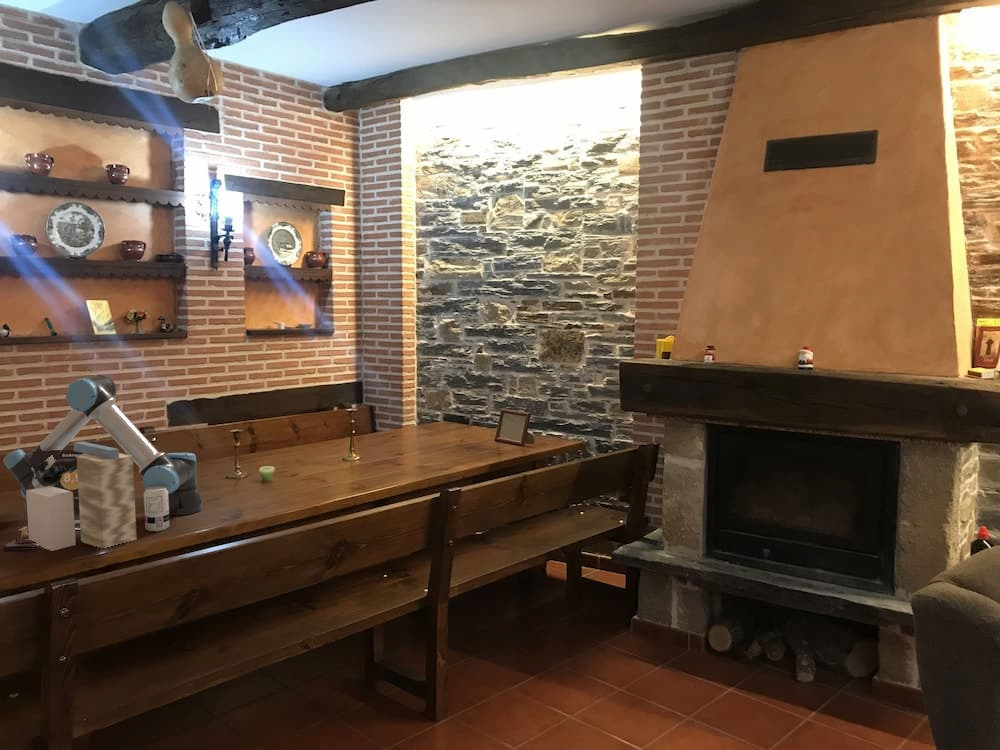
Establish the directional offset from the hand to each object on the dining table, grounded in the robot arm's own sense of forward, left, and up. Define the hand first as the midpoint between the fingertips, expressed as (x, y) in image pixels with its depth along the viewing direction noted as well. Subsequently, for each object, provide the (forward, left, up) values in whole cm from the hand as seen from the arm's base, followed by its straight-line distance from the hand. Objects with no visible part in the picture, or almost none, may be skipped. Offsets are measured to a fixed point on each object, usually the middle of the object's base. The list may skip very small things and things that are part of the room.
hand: (72, 455), depth 290 cm
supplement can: (-18, +21, -28) cm, 40 cm away
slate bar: (0, +15, +2) cm, 15 cm away
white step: (+13, +8, -28) cm, 31 cm away
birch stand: (0, +20, -28) cm, 34 cm away
